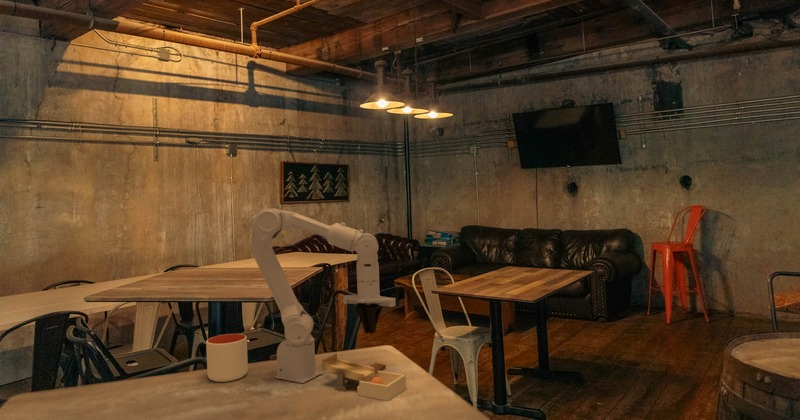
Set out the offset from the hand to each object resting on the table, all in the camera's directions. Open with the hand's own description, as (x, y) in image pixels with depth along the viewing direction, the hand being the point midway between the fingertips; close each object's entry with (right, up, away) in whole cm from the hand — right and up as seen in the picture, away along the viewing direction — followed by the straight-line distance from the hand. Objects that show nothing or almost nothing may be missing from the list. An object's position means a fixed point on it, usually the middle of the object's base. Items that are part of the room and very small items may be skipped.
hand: (370, 332), depth 131 cm
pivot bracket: (-5, -11, -8) cm, 14 cm away
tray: (+4, -11, -13) cm, 17 cm away
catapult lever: (-4, -8, -6) cm, 11 cm away
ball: (+2, -9, -13) cm, 16 cm away
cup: (-37, -12, +1) cm, 39 cm away
